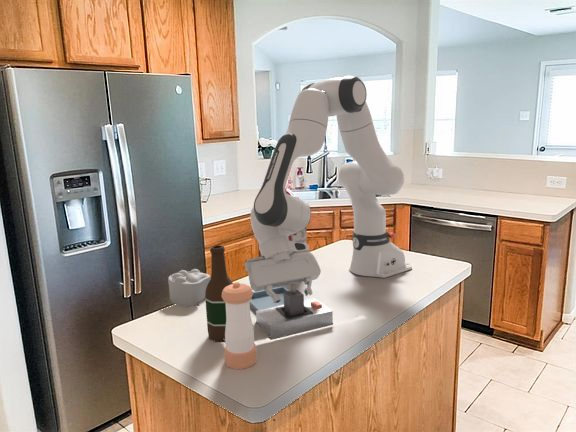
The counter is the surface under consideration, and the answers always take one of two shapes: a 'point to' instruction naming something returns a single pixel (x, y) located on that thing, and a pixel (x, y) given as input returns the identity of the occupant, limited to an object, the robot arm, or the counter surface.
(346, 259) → the counter surface
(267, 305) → the tray
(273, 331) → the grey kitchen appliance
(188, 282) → the lumpy-topped squat cylinder
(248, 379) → the counter surface
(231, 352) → the pepper shaker
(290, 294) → the plug
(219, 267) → the beer bottle
